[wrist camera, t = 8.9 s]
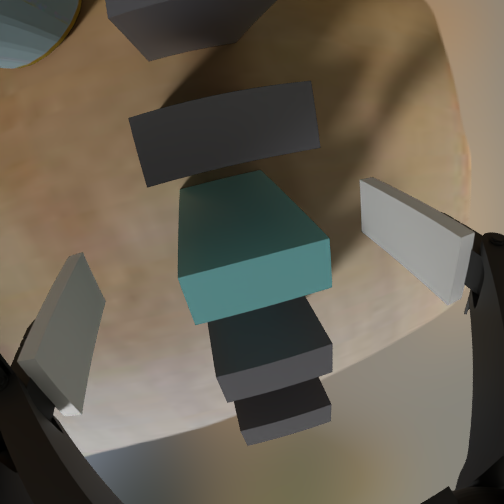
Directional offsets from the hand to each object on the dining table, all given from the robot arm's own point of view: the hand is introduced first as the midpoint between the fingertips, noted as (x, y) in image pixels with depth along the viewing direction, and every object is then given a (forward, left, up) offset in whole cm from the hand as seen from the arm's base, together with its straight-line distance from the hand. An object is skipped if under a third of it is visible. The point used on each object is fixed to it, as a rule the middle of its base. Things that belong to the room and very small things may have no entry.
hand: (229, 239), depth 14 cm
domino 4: (0, -5, -6) cm, 8 cm away
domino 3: (0, 0, -6) cm, 6 cm away
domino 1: (0, +10, -6) cm, 12 cm away
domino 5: (0, -10, -6) cm, 12 cm away
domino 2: (0, +5, -6) cm, 8 cm away
